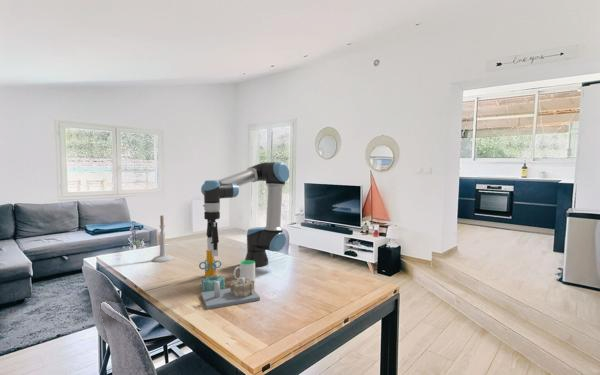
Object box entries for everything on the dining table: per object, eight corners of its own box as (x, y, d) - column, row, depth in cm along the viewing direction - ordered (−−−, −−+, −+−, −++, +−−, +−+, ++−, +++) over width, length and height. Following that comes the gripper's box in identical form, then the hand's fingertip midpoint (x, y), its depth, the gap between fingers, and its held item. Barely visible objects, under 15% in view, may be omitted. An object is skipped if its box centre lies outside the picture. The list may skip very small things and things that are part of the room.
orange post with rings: (214, 280, 180) (213, 253, 180) (196, 279, 182) (196, 252, 182) (223, 273, 192) (223, 248, 191) (207, 272, 194) (206, 247, 194)
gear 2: (244, 286, 167) (244, 277, 166) (258, 292, 159) (258, 282, 159) (226, 292, 159) (226, 282, 158) (240, 299, 151) (240, 288, 151)
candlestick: (177, 258, 223) (176, 214, 222) (160, 263, 213) (159, 216, 211) (165, 256, 230) (164, 213, 228) (148, 260, 219) (147, 215, 218)
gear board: (249, 288, 169) (249, 271, 169) (259, 300, 154) (259, 282, 153) (201, 295, 159) (200, 278, 159) (206, 309, 144) (206, 290, 143)
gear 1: (221, 283, 176) (221, 274, 175) (226, 290, 166) (226, 280, 165) (200, 286, 171) (200, 277, 171) (203, 293, 161) (203, 283, 161)
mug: (237, 286, 171) (237, 266, 171) (230, 282, 178) (230, 263, 177) (258, 281, 179) (257, 262, 178) (250, 277, 185) (250, 259, 184)
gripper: (200, 208, 176) (201, 248, 177) (208, 214, 153) (209, 259, 154) (215, 208, 179) (215, 246, 180) (224, 213, 156) (225, 258, 158)
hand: (212, 253), depth 167 cm, fingers open, 13 cm apart
